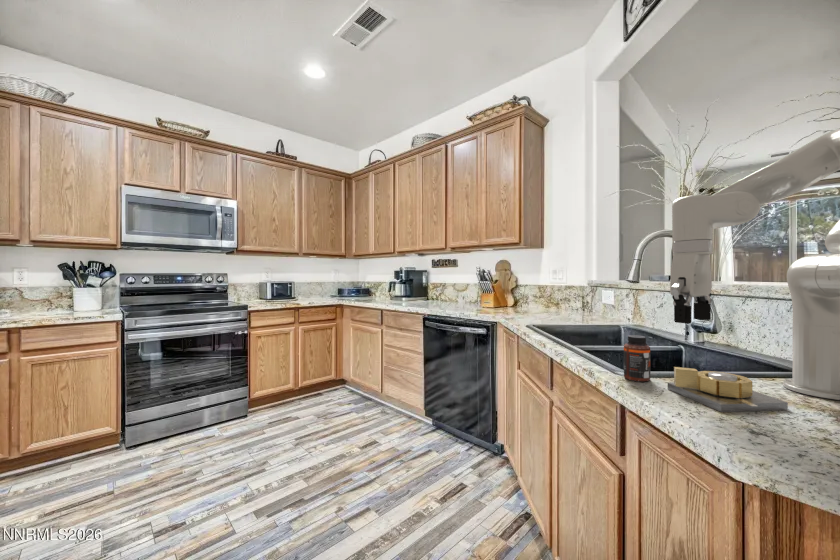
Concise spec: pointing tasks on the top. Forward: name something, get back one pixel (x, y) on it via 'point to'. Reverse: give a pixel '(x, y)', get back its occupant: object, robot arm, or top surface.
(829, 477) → the top surface
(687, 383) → the segmented octagonal ring
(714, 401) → the spindle plate
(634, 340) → the supplement bottle
